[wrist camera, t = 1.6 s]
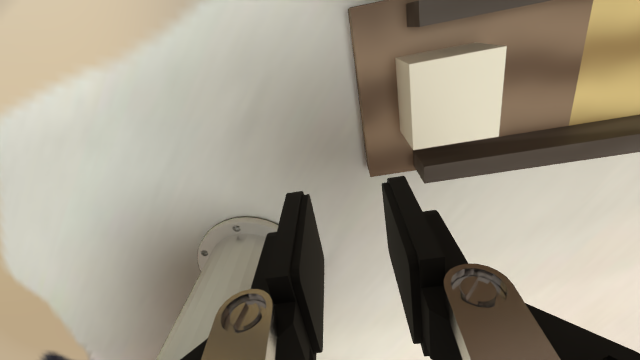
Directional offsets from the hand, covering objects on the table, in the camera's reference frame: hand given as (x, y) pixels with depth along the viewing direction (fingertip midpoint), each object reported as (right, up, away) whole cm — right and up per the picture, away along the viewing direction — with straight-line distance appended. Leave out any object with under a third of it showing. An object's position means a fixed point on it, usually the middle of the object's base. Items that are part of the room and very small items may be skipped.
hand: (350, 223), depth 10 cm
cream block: (+8, +9, +14) cm, 18 cm away
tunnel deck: (+20, +12, +15) cm, 27 cm away
